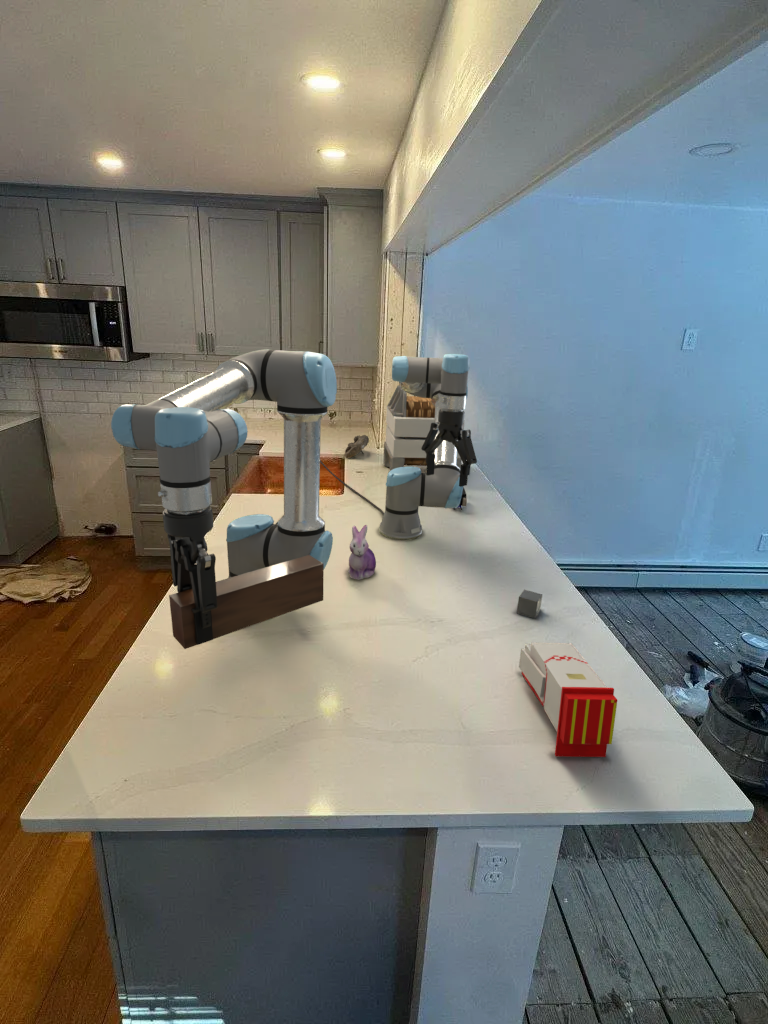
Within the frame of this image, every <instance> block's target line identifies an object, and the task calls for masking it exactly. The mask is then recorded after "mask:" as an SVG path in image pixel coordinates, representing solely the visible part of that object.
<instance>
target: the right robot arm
mask: <svg viewBox="0 0 768 1024" xmlns="http://www.w3.org/2000/svg"><path fill="white" fill-rule="evenodd" d="M469 370H470V357H469V355H467V354H462V353H445V354H444V355H443V357H424V356H423V357H421V356H407V355H402V356H400V355H396V356H394V357H393V358H392V363H391V380H392V381H394V382H397V383H399V384H398V385H400V386H401V388H402V389H403V390H404V391H405V392H406V393H407V394H409V395H410V396H415V397H421V398H431V402H432V404H433V405H434V406H435V420H434V423H431V427H430V431H429V433H428V435H427V437H426V439H425V441H424V444H423V446H422V448H421V449H422V450H423V451H425V452H426V464H427V466H426V472H422V469H421V468H420V467H419V466H418V467H417V466H407V465H406V466H404V467H399V468H395V469H393V470H391V471H390V470H389V471H388V473H387V475H386V482H385V487H386V488H385V489H386V490H385V504H384V505H385V507H384V508H385V509H384V511H383V509H381V508H380V507H378V506H377V505H376V504H374V503H373V502H372V501H371V500H369V499H368V498H366V497H365V496H363V495H362V494H361V493H360V492H358V491H357V490H355V489H353V487H351V486H349V485H348V484H347V483H346V482H344V481H343V480H341V478H339V477H338V476H337V475H335V474H334V473H333V472H332V471H331V470H330V469H329V468H328V467H327V466H326V465H325V464H324V463H323V461H322V460H321V459H320V465H322V466H323V468H325V469H326V470H327V472H329V473H330V475H332V476H333V477H334V478H335V479H336V480H338V481H339V482H340V483H341V484H342V485H344V486H345V487H347V488H348V489H349V490H351V491H352V492H353V493H355V494H356V495H358V496H359V497H361V498H362V499H363V500H364V501H366V502H368V503H369V504H370V505H371V506H373V507H374V508H375V509H376V510H378V511H379V512H380V513H381V514H382V519H381V522H379V527H378V533H379V534H380V535H381V536H382V537H385V538H387V539H389V540H395V541H410V540H415V539H418V538H420V537H421V536H422V535H423V525H422V524H421V518H420V515H419V507H425V508H437V509H438V508H439V509H453V508H455V509H458V508H457V507H458V506H459V504H460V501H461V496H462V491H463V486H464V487H466V486H468V479H469V476H470V474H471V467H472V465H474V464H477V463H478V460H477V455H476V453H475V448H474V445H473V441H472V430H471V429H464V430H462V425H463V423H464V424H465V421H464V420H465V416H466V415H465V414H466V413H465V411H464V410H466V406H467V405H466V404H467V399H468V394H469ZM457 451H458V454H459V456H460V458H461V460H462V462H461V468H459V467H458V466H457ZM432 453H433V454H432Z"/></svg>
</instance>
